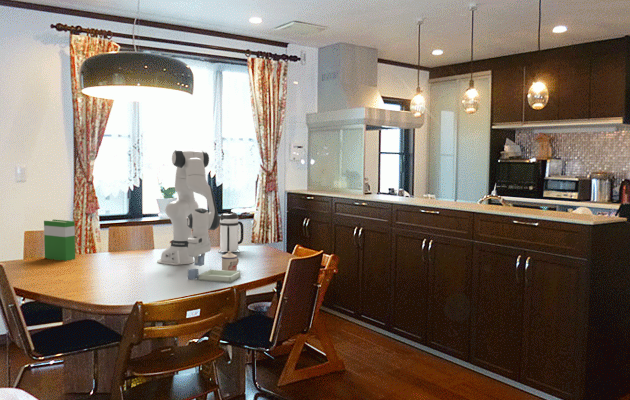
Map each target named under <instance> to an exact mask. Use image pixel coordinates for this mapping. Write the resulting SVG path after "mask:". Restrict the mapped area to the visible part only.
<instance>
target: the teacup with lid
mask: <svg viewBox="0 0 630 400" xmlns="http://www.w3.org/2000/svg"><path fill="white" fill-rule="evenodd" d="M239 263H240V262H239V258H238V255H237V254H234V253H233V252H231V251H228V253H227V252H226V253H225V254H222V255H221V270H224V271H237V272H238V269H237V268H238V264H239Z"/></svg>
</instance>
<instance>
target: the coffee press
mask: <svg viewBox="0 0 630 400" xmlns="http://www.w3.org/2000/svg"><path fill="white" fill-rule="evenodd" d="M238 215H239V214H237V213H235V212H232V210H231V209H227V212H223V213H221V215H219V219H220V225H219V250H220V251H219V250H218V251H217V252H218V254H219V253H221V252H223V253H224V252H226V253H228V251H231V253H233V252H237V253H238V254H239V253H241V251H240V248H239V245H240V244H242V243H243V240H244V224H243V222H242V221H239V218H240V217H239V216H238ZM239 226H240V240H239Z"/></svg>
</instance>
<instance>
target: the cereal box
mask: <svg viewBox="0 0 630 400" xmlns="http://www.w3.org/2000/svg"><path fill="white" fill-rule="evenodd" d="M75 223H76V222H75V221H74V220H66V219H65V220H64V219H52V220H43V235H44V237H43V238H44V240H43V241H44V259H45V258H47V259H46V260H53V259H54V260H55V261H61V260H64V262H67V260H69V261H73V260H76V231H75V230H76V229H75V227H76V226H75V225H76V224H75ZM72 259H73V260H72Z"/></svg>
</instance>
